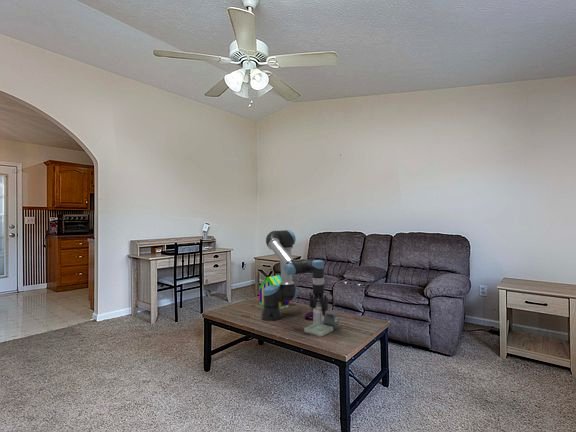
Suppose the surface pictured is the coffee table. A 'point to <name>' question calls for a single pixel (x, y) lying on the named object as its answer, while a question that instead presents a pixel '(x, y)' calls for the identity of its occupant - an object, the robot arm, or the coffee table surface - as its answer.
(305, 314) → the mounting bracket
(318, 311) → the module
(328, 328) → the tray
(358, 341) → the coffee table surface
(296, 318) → the coffee table surface
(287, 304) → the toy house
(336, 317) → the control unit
